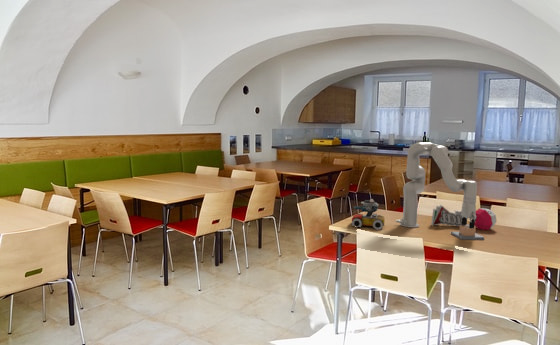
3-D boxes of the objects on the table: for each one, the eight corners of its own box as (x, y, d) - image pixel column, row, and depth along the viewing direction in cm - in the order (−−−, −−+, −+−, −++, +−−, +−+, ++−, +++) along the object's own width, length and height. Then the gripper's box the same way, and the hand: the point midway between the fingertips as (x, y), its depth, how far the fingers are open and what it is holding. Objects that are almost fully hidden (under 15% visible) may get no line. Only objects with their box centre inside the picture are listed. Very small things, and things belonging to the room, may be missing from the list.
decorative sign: (464, 229, 307) (468, 208, 305) (465, 230, 304) (469, 209, 302) (430, 224, 309) (434, 203, 307) (431, 225, 306) (435, 204, 304)
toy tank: (353, 222, 312) (354, 195, 310) (384, 224, 307) (385, 197, 304) (350, 227, 295) (352, 199, 292) (383, 230, 289) (385, 201, 287)
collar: (464, 235, 272) (464, 228, 272) (459, 232, 279) (459, 225, 279) (475, 235, 273) (475, 228, 272) (469, 233, 280) (470, 225, 279)
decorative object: (468, 207, 300) (486, 202, 303) (466, 225, 307) (483, 219, 310) (484, 218, 287) (502, 212, 291) (481, 236, 294) (499, 230, 298)
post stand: (461, 239, 269) (461, 227, 268) (450, 233, 283) (451, 222, 282) (484, 239, 270) (484, 227, 269) (472, 234, 284) (473, 222, 283)
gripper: (457, 197, 282) (455, 223, 284) (470, 202, 265) (468, 229, 267) (468, 198, 282) (466, 223, 284) (482, 202, 265) (480, 229, 267)
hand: (467, 226), depth 275 cm, fingers open, 9 cm apart
